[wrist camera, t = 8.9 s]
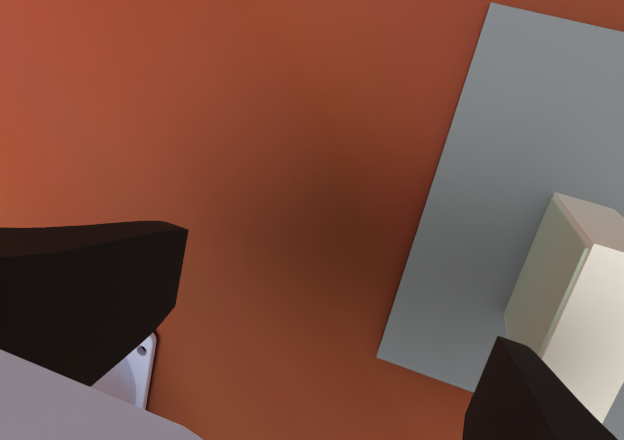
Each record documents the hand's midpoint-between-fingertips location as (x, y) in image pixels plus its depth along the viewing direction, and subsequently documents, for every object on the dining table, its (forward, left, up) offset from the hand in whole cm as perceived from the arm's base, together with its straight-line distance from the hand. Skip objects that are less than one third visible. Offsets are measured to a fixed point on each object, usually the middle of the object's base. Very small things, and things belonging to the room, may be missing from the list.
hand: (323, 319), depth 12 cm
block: (0, -7, -9) cm, 11 cm away
